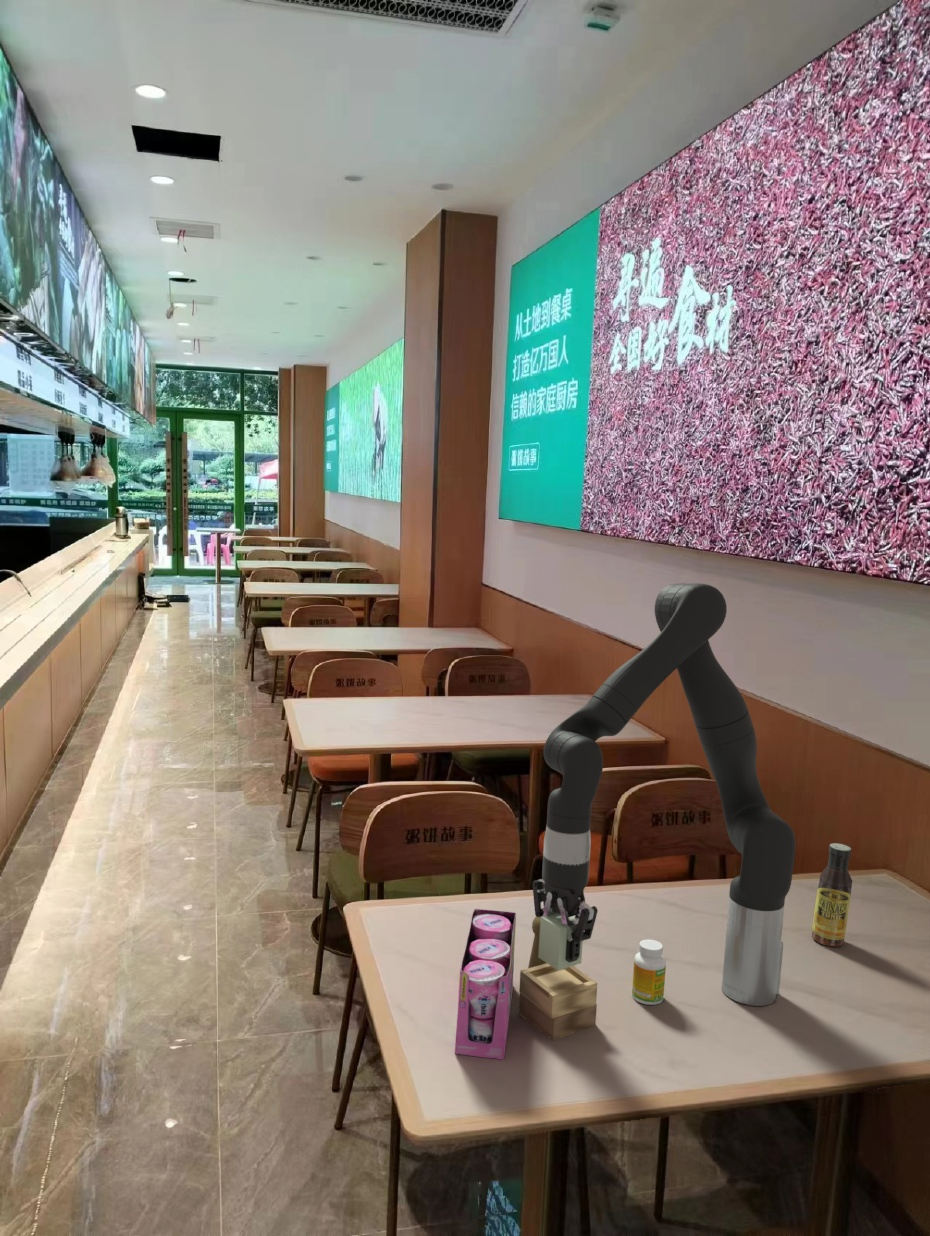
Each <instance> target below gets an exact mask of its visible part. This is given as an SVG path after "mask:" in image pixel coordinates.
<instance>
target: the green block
mask: <svg viewBox="0 0 930 1236" xmlns="http://www.w3.org/2000/svg"><path fill="white" fill-rule="evenodd" d="M568 918H569V920H570V919H574V918H575V916H572V917H568ZM572 928H573V932H576V924H575V925H573V926H572ZM566 943H567V927H565V926H563V924H562V919H561V915H560V914H559V913H558V914H553V915H550V916H547V915H546V916H542V917H541V920H540V937H539V953H538V957H539V958H540V959H542V960H543V961H544V962H546V963H547V964H549V965H550V966H552V967H553V968H555V969H556V970H561V969H565V968H568V967H571V966H576V965H580V964H582V960H583V944H584V943H583V941H581V942H580V956H579V958H578V959H577V960H576V961H573V962H568V961H566V959H565V958H566Z"/></svg>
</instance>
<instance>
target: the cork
mask: <svg viewBox="0 0 930 1236" xmlns="http://www.w3.org/2000/svg"><path fill="white" fill-rule="evenodd" d="M540 920H541V918H540V917H536V916H535V917H534V919H533V920H532V924H531V926H532V927H531V930H532V933H533V935H534V936H533V940H532V947H531V951H530V956H529V957H530V958H529V962H528V966H527V969H528V968H532V967H535V966H539V965H543V964H546V962H544V961H543V960H542V959H540V958H539V957H538V953H539V937H540Z"/></svg>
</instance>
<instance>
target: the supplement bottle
mask: <svg viewBox="0 0 930 1236" xmlns="http://www.w3.org/2000/svg"><path fill="white" fill-rule="evenodd" d="M663 950H664V946H663V944H662V943H661V942H660V941H658V940H654V939H643V940H641V941H640V942H639V946H638V952H636V954H635V956H634V961H633V972H632V988H631V995H632V997H633V999H634V1000H635V1001H637V1002H638V1003H639V1004H643V1005H648V1006H649V1005H650V1006H655V1005H656V1006H657V1005H659V1004H661V1003H662V1002H663V1000H664V995H665V980H666V968H667V967H666V966H667V961H666V958H665V957H664V956H663Z"/></svg>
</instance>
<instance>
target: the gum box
mask: <svg viewBox="0 0 930 1236" xmlns="http://www.w3.org/2000/svg"><path fill="white" fill-rule="evenodd" d="M516 920H517V912H511V911H502V910H501V911H500V910H493V909H491V910H490V909H480V908H474V909H473V910H472V914H471V921H470V925H469V926H470V927H469V931H468V935H467V938H466V942H465V943H466V944H465V948H464V953H463V956H462V960H461V964H460V968H459V980H458V981H459V983H458V1002H457V1003H458V1004H457V1015H456V1033H455V1044H454V1046H455V1047H454V1054H456V1055H464V1056H471V1057H477V1058H478V1057H479V1058H486V1059H489V1058H490V1059H497V1060H504V1059H505V1053H506V1046H507V1045H506V1044H507V1036H508V1029H509V1025H510V1024H509V1023H510V1013H511V1005H512V999H513V987H514V967H515V963H514V962H515V946H516V945H515V943H516V940H515V939H516V925H517V924H516Z"/></svg>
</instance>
